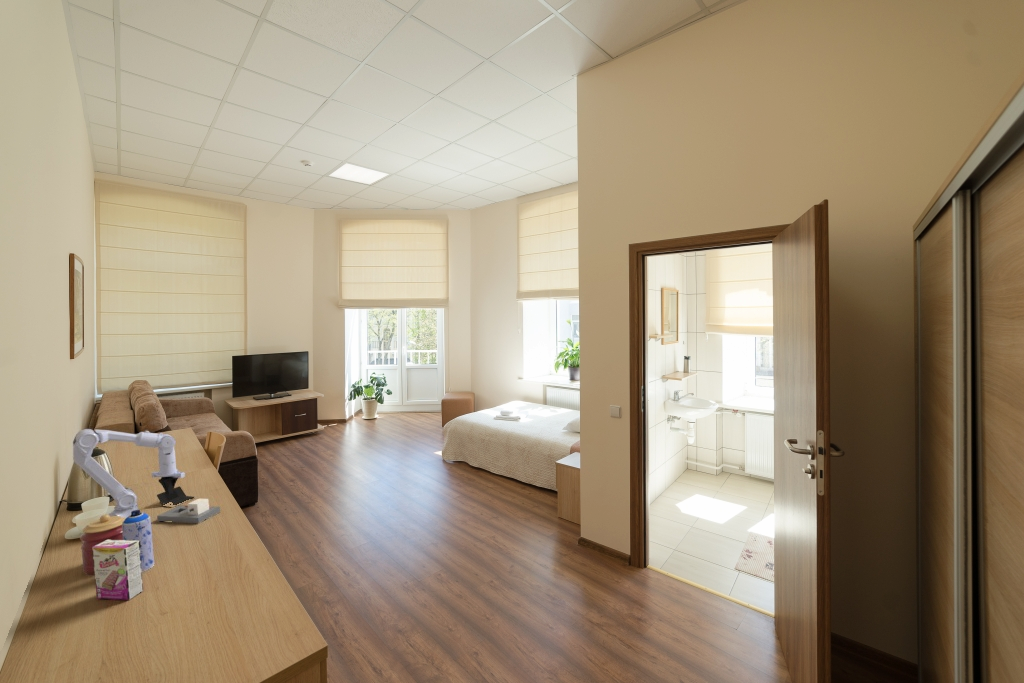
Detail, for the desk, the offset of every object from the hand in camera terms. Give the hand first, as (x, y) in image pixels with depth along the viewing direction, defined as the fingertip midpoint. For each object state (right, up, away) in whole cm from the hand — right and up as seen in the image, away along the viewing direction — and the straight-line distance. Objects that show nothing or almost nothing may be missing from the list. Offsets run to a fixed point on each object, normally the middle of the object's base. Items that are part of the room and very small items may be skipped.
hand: (169, 493), depth 194 cm
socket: (+9, -10, -1) cm, 13 cm away
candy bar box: (+28, -12, -57) cm, 65 cm away
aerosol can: (+22, -12, -42) cm, 48 cm away
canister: (+8, -12, -38) cm, 41 cm away
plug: (+14, -9, -2) cm, 17 cm away
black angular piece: (-9, -10, +16) cm, 21 cm away
